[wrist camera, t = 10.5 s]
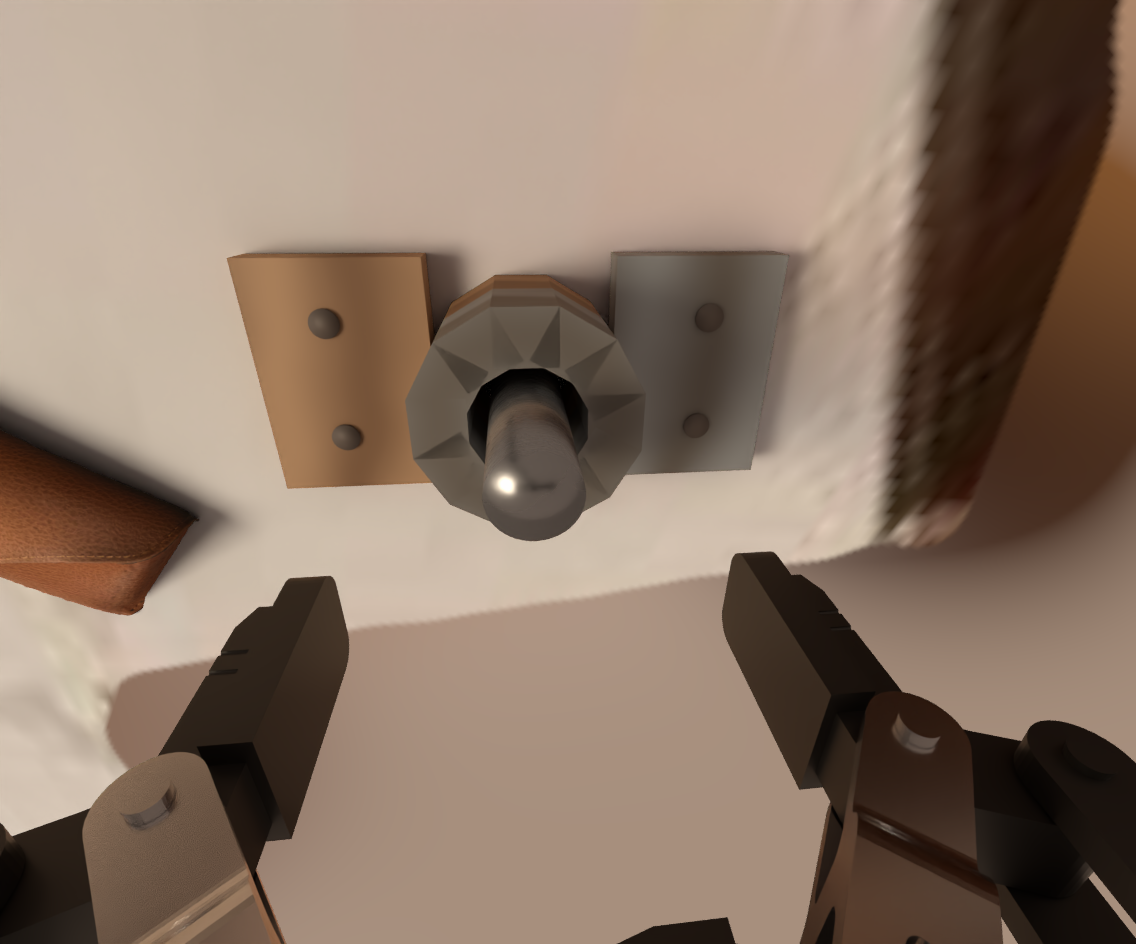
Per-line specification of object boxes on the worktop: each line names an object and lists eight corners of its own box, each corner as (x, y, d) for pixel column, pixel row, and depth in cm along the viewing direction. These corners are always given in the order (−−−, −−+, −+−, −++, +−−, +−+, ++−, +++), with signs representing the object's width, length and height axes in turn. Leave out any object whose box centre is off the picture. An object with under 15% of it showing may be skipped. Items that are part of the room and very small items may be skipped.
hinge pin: (494, 397, 26) (485, 543, 15) (491, 338, 25) (478, 453, 14) (553, 395, 26) (584, 538, 16) (553, 337, 25) (587, 448, 14)
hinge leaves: (298, 473, 27) (235, 560, 21) (243, 253, 22) (140, 280, 16) (739, 456, 29) (802, 530, 22) (773, 251, 24) (865, 273, 18)
